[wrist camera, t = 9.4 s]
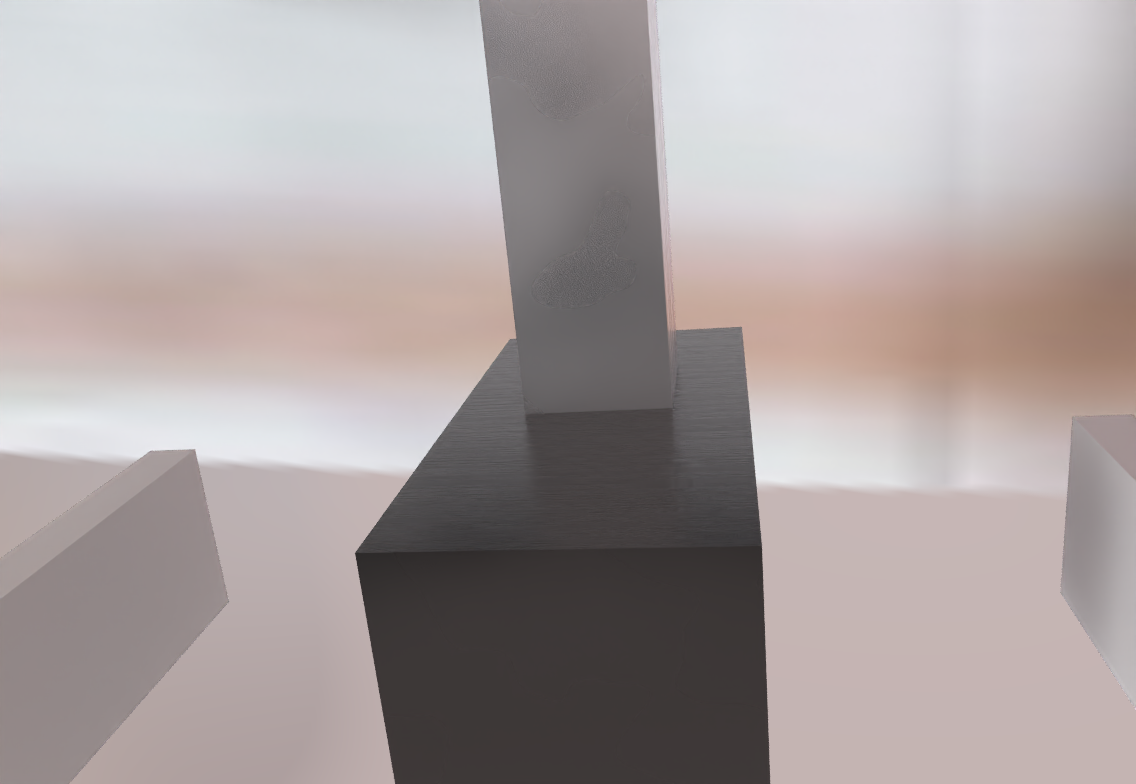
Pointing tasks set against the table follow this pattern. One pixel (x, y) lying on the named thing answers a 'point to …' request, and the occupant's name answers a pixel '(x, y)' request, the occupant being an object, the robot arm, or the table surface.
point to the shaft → (579, 467)
